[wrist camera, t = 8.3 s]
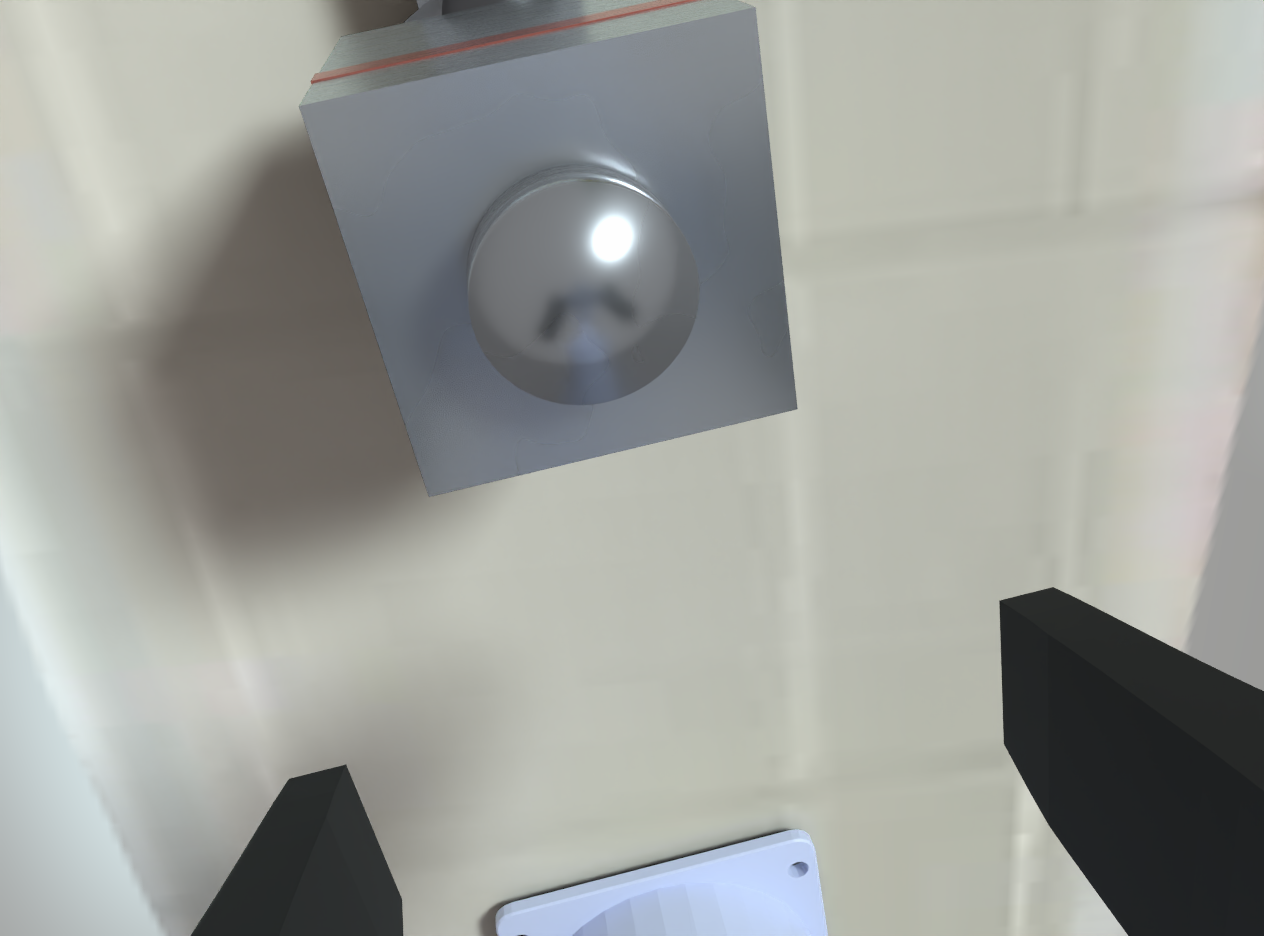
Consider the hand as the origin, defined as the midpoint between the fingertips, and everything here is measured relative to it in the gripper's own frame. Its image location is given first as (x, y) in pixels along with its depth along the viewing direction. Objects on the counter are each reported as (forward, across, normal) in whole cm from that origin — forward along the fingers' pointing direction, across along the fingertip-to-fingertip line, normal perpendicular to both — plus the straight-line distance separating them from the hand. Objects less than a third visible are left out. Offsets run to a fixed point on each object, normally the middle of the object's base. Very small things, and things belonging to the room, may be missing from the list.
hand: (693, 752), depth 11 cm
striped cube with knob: (+8, 0, -5) cm, 9 cm away
